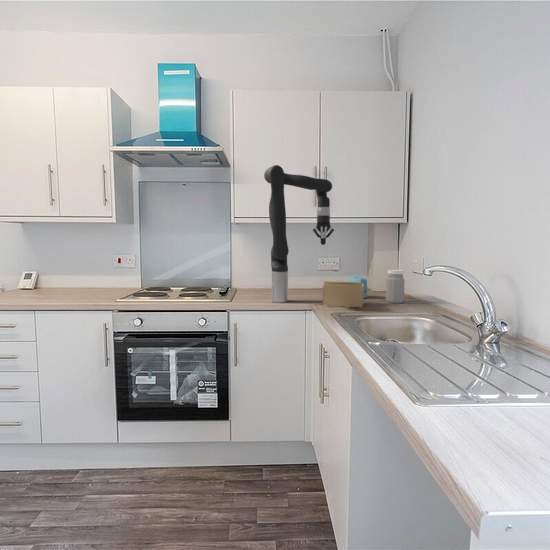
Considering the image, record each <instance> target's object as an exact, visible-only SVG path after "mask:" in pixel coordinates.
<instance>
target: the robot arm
mask: <svg viewBox="0 0 550 550" xmlns="http://www.w3.org/2000/svg"><path fill="white" fill-rule="evenodd" d="M263 177H264V180H265V181H266V182H267V183H268V184H270V187H271V188H270V190H271V191H270V198H269V203H268V217H269V224H270V228H271V232H272V246H271V249H270V265H271V302H272V303H287V302H288V301H289V265H288V255H289V251H290V250H289V246H288V240H287V216H286V215H287V212H286V211H287V210H286V201H285V186H292V187H296V188H300V189H306V190H311V191H313V190H315V192H316V193H315V194H316V198H317V209H316V225H315V227H314V228H313V229H312V232H314V234H315V235H316V237H317V238H319V239H320V245H321V246H325V245H326V239H327V238H330V236H331V234H332V233H333V232H334V231H335V229H334V228H333V227H332V226H331V207H330V205H331V203H330V202H331V201H330V197H328V194H327V193H329V192H331V190H332V189H333V184H332V182H331V181H330V180H328V179H324V178H316V177H312V176H308V175H303V174H291V173H285V171H284V169H283V168H282V166H280V165H278V164H277V165H276V164H275V165H273V166H270V167H268V168H267V169H266V170H265V171H264V174H263Z"/></svg>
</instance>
